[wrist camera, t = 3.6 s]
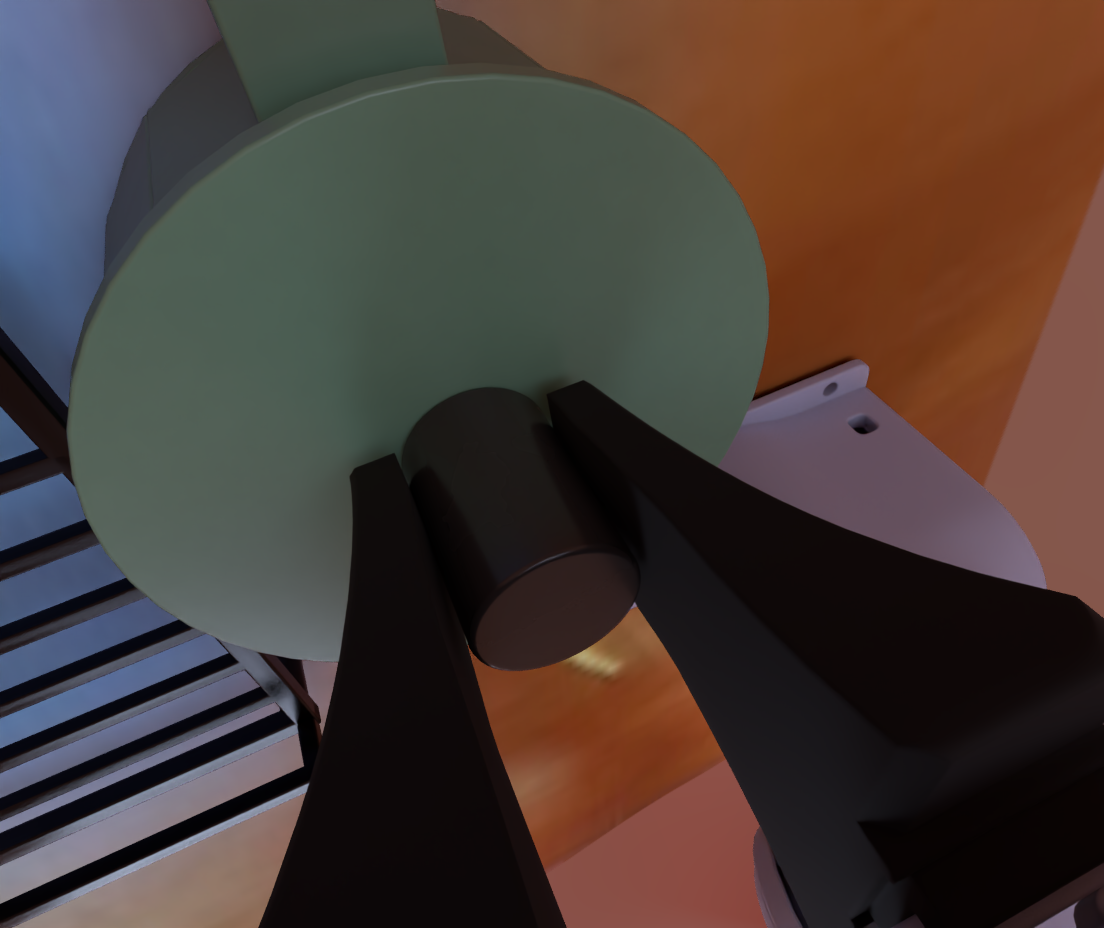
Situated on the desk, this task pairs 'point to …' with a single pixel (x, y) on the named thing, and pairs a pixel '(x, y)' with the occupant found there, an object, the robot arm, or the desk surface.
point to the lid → (410, 352)
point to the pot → (282, 80)
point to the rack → (43, 418)
